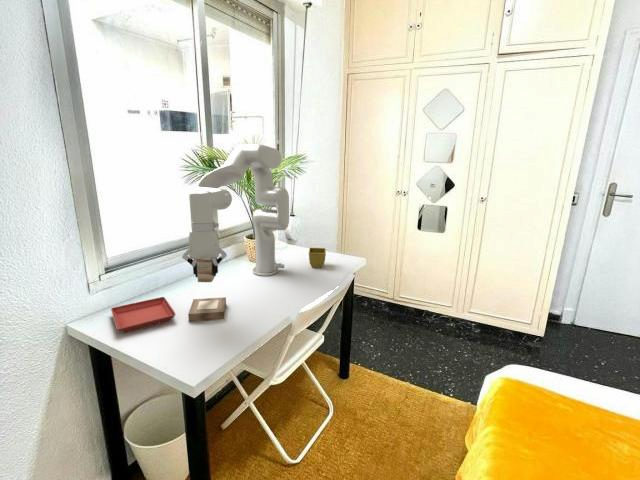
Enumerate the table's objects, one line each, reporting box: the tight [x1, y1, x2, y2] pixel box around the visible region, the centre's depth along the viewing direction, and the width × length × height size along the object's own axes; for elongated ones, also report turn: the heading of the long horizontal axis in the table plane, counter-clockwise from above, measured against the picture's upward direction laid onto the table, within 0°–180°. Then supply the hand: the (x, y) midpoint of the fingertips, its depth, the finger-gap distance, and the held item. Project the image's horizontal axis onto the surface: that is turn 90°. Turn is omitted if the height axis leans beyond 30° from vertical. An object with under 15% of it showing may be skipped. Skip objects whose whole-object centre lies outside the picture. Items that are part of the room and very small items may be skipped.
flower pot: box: [308, 247, 327, 269], centre depth 176 cm, size 9×9×9 cm
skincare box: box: [196, 256, 215, 283], centre depth 121 cm, size 5×4×10 cm
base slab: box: [187, 297, 227, 323], centre depth 125 cm, size 12×12×3 cm
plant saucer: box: [110, 296, 177, 334], centre depth 120 cm, size 18×18×3 cm
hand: (206, 274), depth 121 cm, fingers closed on skincare box, 5 cm apart
